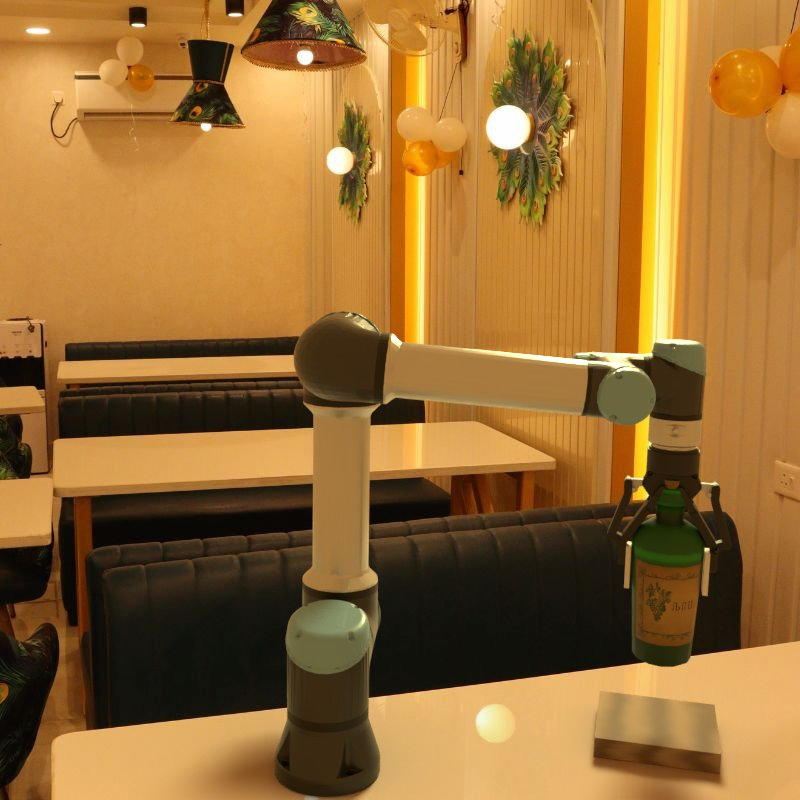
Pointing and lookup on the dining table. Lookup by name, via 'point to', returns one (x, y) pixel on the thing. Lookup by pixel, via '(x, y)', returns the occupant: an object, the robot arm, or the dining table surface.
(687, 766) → the walnut riser
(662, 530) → the bottle
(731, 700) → the dining table surface
